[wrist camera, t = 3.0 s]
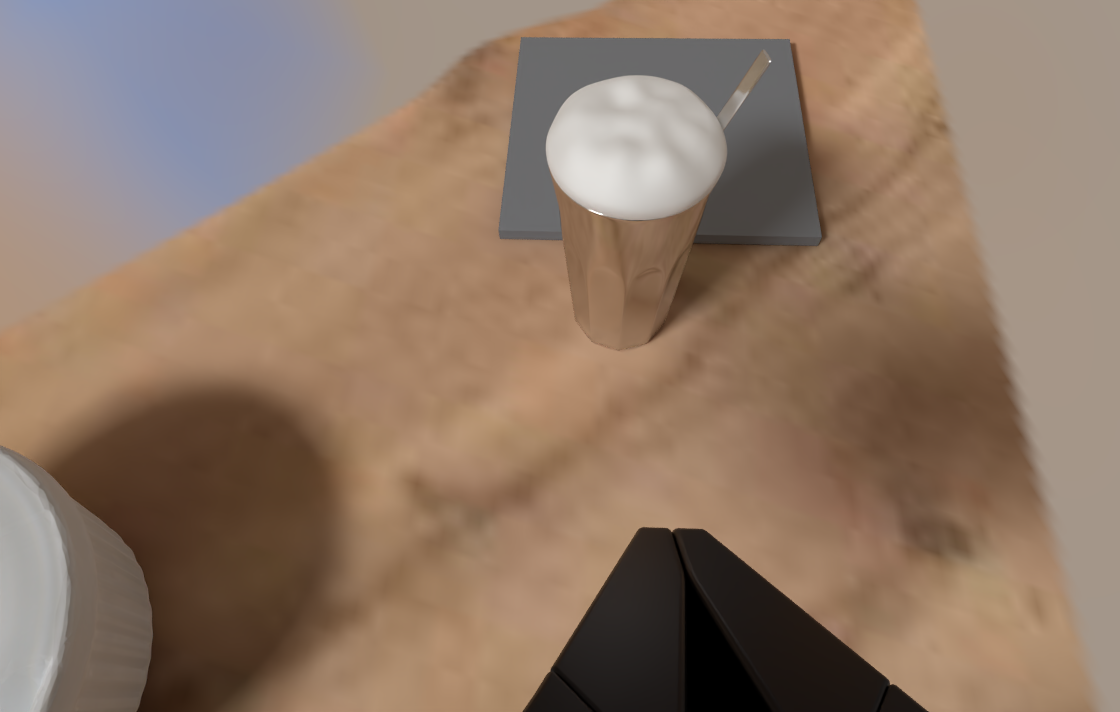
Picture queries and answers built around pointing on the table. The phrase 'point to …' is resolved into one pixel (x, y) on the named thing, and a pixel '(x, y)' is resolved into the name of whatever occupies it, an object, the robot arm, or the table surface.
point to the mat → (713, 75)
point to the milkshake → (634, 195)
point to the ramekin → (66, 602)
